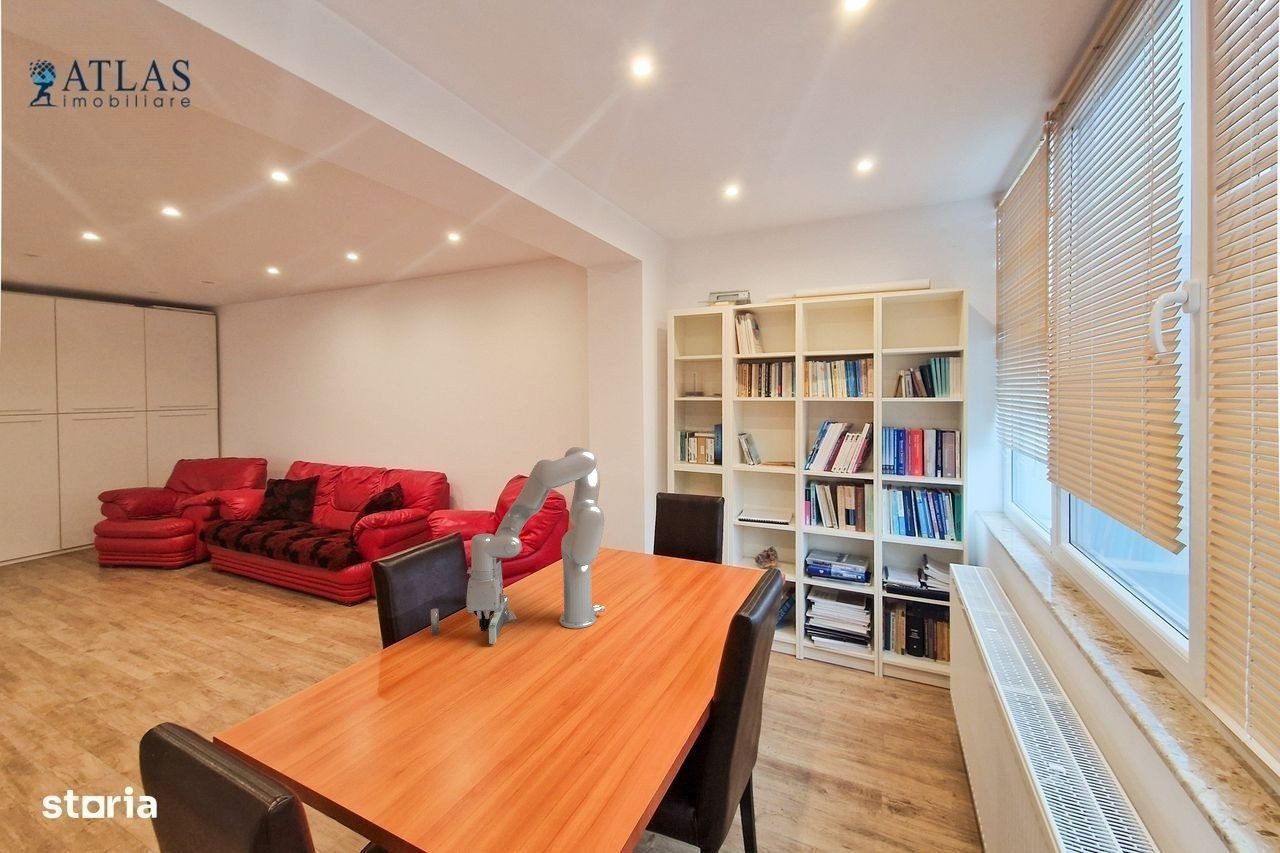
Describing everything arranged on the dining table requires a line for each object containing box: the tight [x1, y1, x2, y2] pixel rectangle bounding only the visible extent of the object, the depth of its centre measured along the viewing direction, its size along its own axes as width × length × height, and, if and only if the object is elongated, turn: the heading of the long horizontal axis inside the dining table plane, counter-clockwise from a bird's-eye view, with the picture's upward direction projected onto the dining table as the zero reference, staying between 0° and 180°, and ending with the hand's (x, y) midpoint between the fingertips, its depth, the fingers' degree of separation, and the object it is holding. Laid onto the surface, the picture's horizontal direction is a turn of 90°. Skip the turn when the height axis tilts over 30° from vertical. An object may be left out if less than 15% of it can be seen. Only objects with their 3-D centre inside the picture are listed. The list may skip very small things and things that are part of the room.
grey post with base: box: [491, 594, 518, 625], centre depth 174 cm, size 7×7×8 cm
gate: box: [488, 602, 506, 644], centre depth 163 cm, size 18×2×6 cm, turn 5°
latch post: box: [430, 607, 440, 636], centre depth 164 cm, size 2×2×8 cm
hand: (484, 629), depth 160 cm, fingers closed
